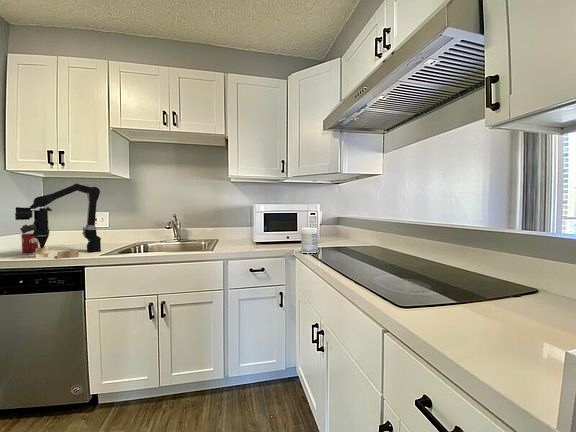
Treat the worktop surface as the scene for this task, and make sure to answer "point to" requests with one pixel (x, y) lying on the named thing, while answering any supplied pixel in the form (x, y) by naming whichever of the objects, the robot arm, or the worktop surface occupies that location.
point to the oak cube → (42, 252)
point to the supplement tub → (309, 240)
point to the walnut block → (68, 254)
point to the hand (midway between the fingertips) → (42, 247)
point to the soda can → (29, 243)
